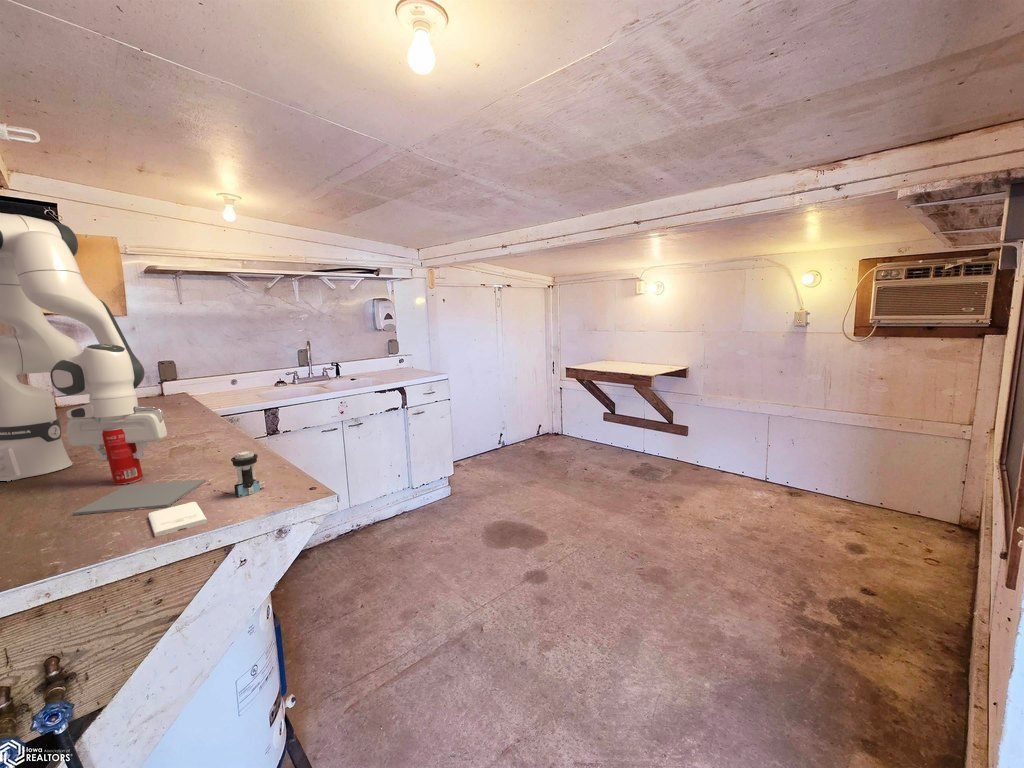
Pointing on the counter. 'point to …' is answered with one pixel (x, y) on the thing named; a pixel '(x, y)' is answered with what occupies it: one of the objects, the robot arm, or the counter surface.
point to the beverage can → (121, 457)
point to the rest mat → (141, 496)
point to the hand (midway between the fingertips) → (122, 459)
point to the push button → (246, 473)
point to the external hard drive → (176, 518)
